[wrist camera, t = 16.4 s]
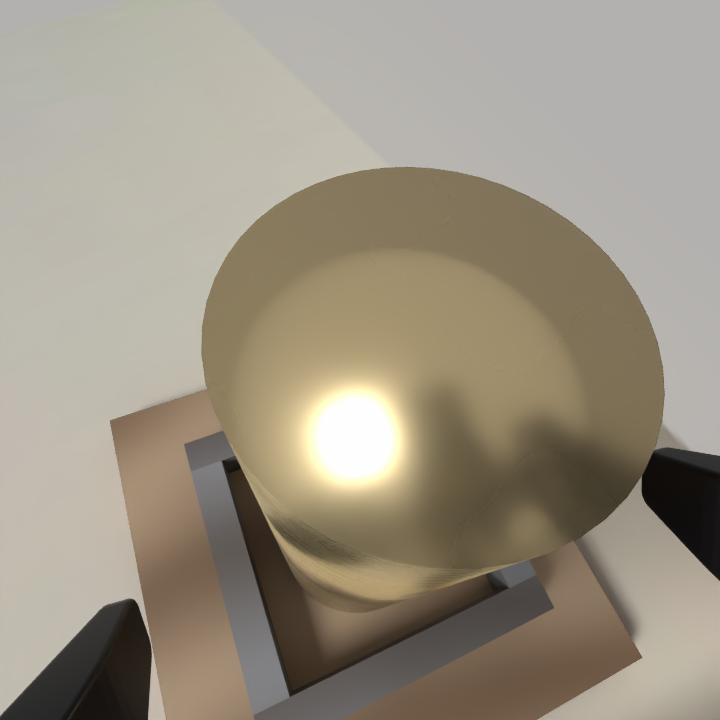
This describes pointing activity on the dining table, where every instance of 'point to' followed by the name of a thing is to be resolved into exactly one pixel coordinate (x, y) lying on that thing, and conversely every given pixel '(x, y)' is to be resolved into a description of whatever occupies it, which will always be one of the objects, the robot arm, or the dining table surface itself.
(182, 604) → the brown board with frame
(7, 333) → the dining table surface
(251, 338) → the brass billet
